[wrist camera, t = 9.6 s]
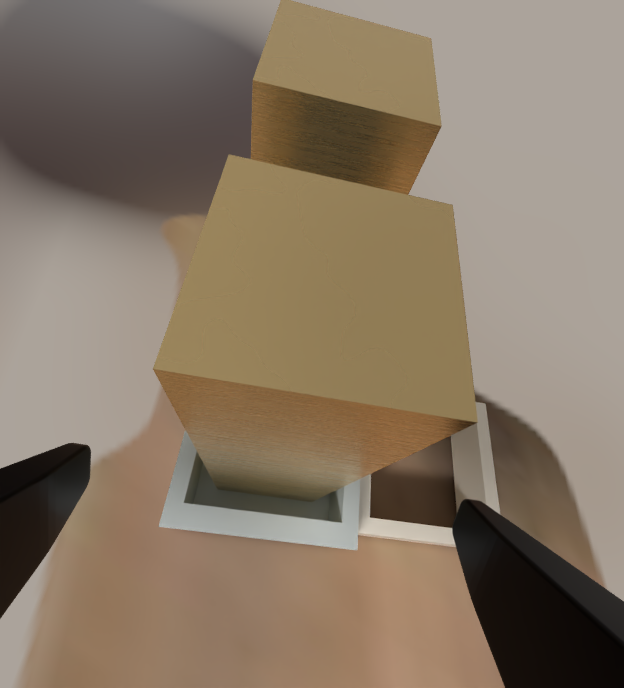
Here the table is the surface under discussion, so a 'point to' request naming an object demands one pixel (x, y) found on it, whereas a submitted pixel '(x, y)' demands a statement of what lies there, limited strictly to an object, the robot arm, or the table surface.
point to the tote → (470, 483)
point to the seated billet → (344, 98)
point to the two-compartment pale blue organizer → (257, 509)
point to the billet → (317, 332)
